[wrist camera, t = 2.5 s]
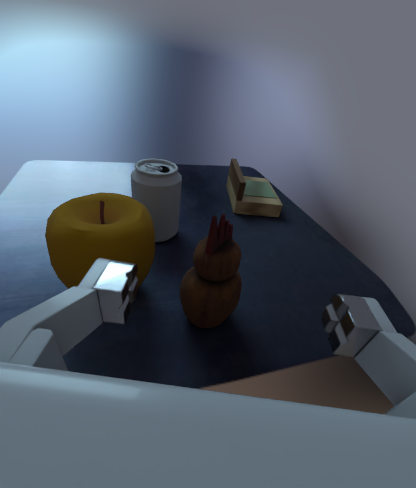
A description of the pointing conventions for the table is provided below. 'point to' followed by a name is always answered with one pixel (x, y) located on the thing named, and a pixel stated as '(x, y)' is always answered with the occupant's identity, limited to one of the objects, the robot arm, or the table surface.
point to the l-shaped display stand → (251, 194)
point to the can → (158, 194)
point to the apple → (99, 235)
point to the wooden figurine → (212, 278)
